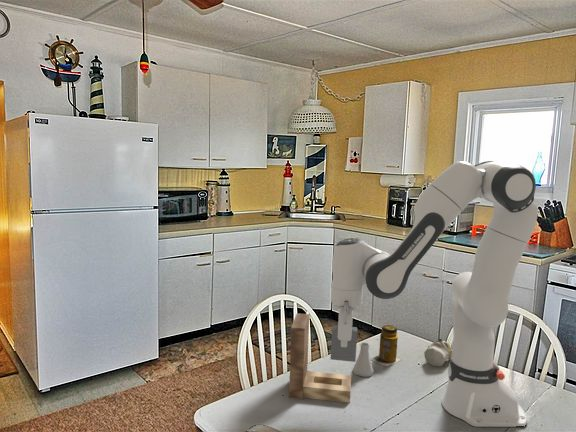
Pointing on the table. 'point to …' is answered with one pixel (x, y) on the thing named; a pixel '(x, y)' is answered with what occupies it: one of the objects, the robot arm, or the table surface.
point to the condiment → (387, 346)
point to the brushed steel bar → (343, 352)
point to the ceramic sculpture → (438, 353)
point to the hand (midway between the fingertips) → (344, 342)
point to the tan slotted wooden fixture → (309, 381)
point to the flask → (363, 362)
